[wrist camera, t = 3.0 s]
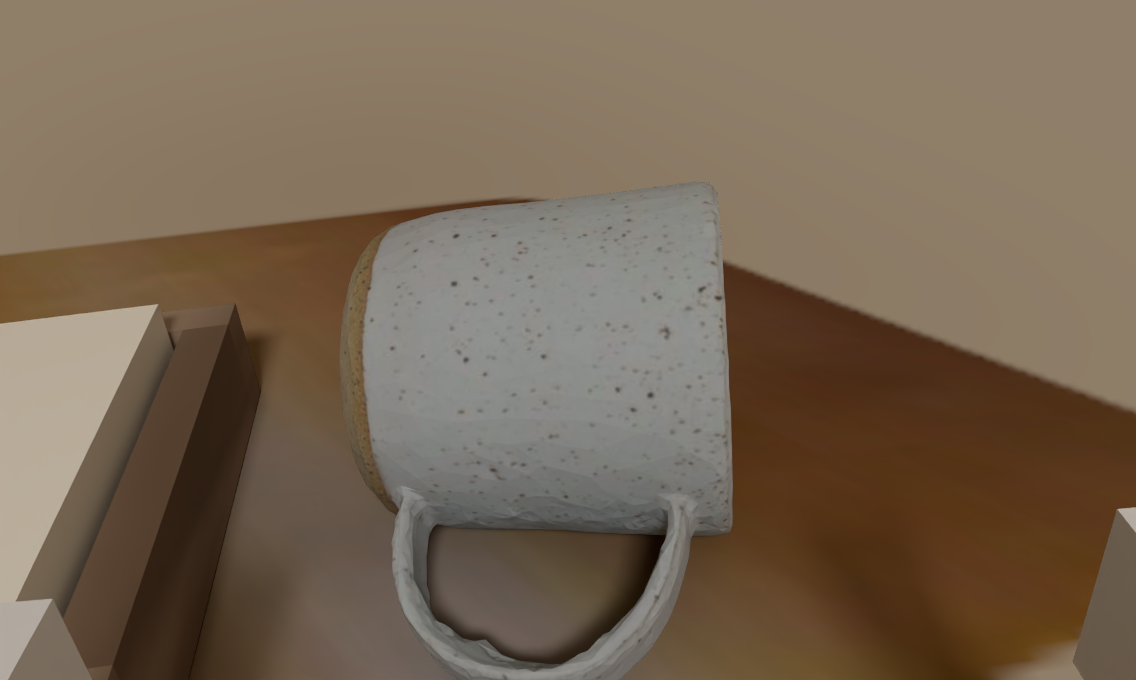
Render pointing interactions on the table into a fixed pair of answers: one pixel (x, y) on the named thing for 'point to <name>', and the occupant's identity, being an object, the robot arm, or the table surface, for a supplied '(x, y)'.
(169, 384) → the key pad frame
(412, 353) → the ceramic mug
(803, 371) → the table surface
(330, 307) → the table surface
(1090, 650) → the robot arm
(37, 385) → the cream key
